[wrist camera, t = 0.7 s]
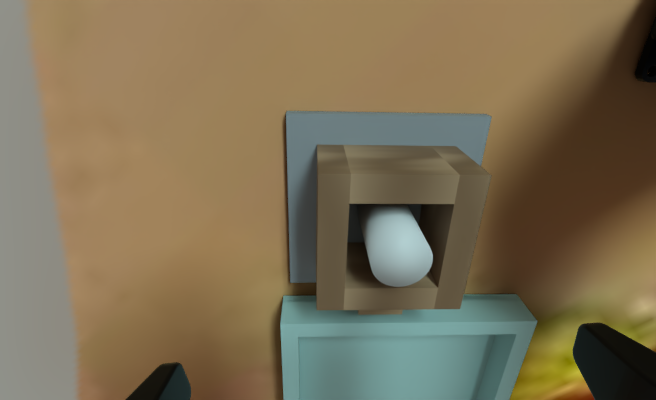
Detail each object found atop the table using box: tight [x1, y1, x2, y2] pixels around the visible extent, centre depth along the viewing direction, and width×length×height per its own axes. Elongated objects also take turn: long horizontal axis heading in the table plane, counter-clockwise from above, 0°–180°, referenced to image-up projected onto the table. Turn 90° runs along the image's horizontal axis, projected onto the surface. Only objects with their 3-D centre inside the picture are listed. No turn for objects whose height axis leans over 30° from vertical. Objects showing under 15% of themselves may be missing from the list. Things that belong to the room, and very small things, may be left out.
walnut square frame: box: [316, 144, 492, 315], centre depth 18 cm, size 7×9×4 cm
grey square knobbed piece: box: [286, 111, 491, 287], centre depth 17 cm, size 10×10×6 cm
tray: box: [280, 294, 537, 400], centre depth 25 cm, size 15×15×2 cm
